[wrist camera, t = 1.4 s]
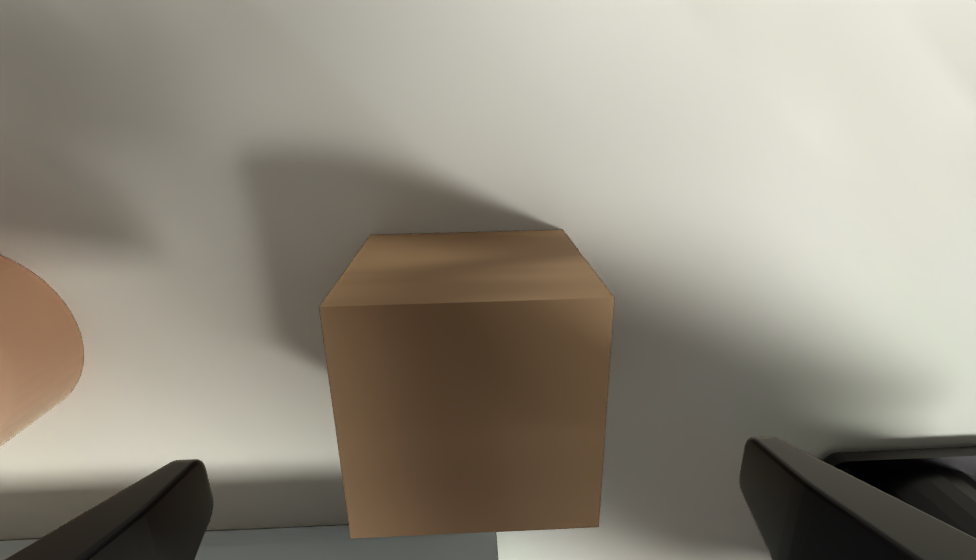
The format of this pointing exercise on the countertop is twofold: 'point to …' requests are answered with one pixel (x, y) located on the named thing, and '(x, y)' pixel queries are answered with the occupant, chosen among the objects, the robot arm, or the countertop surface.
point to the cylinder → (33, 349)
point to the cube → (469, 383)
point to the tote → (326, 545)
